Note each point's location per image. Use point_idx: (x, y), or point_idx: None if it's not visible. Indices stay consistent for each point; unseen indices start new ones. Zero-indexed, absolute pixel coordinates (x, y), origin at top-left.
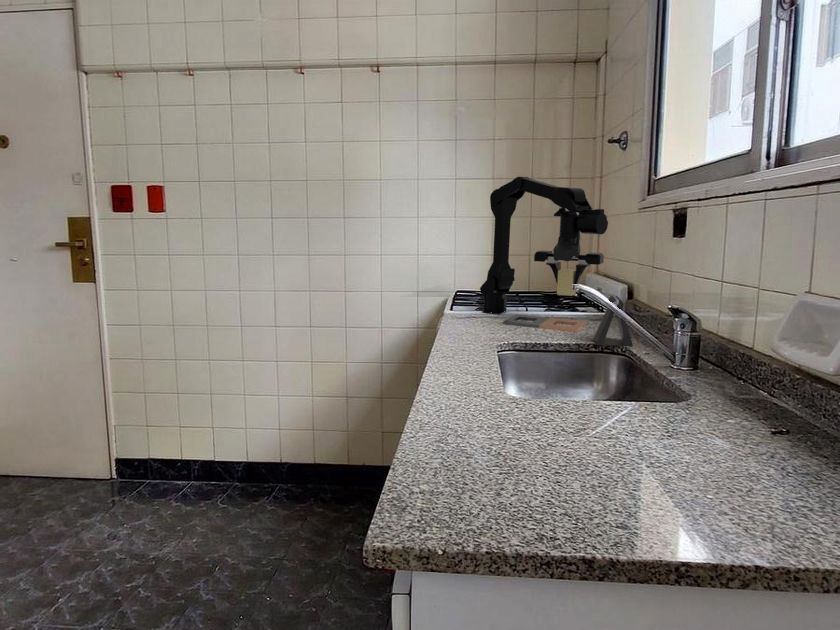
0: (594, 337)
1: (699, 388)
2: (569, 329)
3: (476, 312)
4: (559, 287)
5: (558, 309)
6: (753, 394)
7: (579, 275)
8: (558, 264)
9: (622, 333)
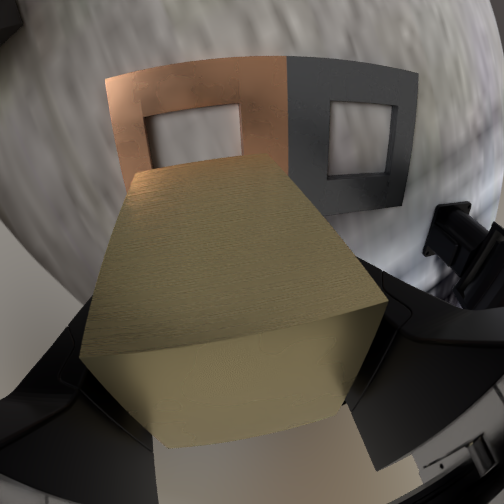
0: (16, 18)
1: None
2: (140, 70)
3: (476, 198)
4: (263, 177)
5: None
6: None
7: (54, 343)
8: (405, 427)
9: None
